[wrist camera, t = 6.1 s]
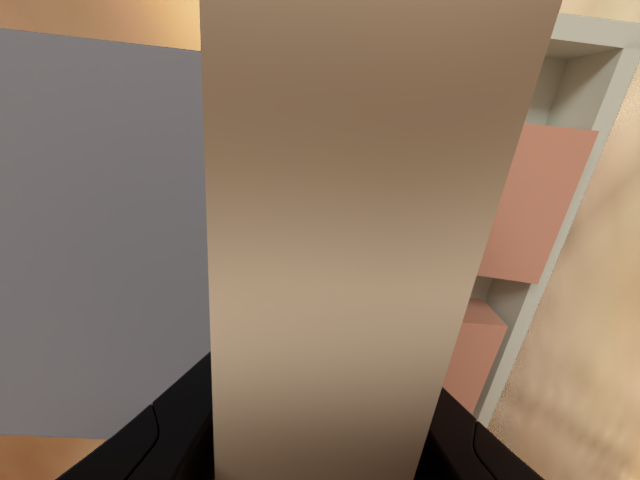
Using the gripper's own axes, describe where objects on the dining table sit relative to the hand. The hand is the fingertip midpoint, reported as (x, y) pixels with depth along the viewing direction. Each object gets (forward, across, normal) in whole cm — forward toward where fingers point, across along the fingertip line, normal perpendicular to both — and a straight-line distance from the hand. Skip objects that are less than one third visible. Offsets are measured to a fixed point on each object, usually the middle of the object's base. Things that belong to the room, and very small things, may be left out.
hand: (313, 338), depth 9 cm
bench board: (+5, +7, 0) cm, 9 cm away
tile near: (+2, -5, -4) cm, 7 cm away
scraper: (+1, 0, 0) cm, 1 cm away
